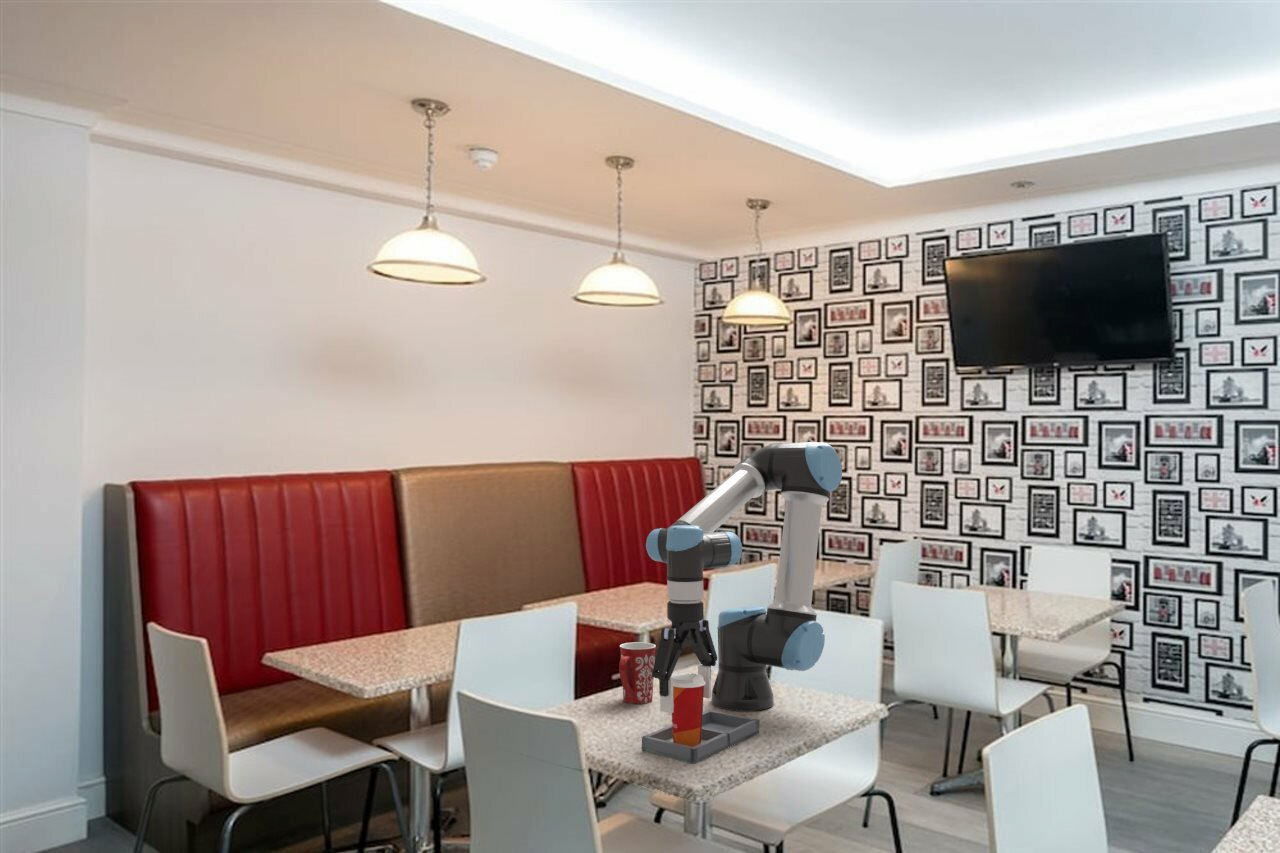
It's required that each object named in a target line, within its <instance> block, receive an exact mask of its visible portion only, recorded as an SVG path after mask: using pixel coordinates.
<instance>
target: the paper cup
mask: <svg viewBox="0 0 1280 853" xmlns="http://www.w3.org/2000/svg"><path fill="white" fill-rule="evenodd" d="M670 679H673V713H671V725H672V729H673V742H674V743H678V744H683V745H687V746H691V747H694V746H696V745H698V744H701V733H702V714H703V712H704V697H703V694H704V685H705V684H706V683H705V681H704V678H703V676H702V675H699V674H698V673H690V672H682V673H675V674H672V675H671V678H670Z"/></svg>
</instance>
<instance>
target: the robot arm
mask: <svg viewBox="0 0 1280 853" xmlns="http://www.w3.org/2000/svg"><path fill="white" fill-rule="evenodd" d="M842 477H843V469H842V462H841V460H840V457H839V455H838V453H837V451H836V449H835V448H834V447H833V446H831V444H828V443H826V442H815V441H809V442H808V441H807V442H805V441H804V442H776V443H772V444H768V445H765V446H763V447H761V448H759V449H757V450H756V451H754V452H752V453H751V454H749V455H747V456H746V457H745V458H743V460H741V461H740V462H738V463H737V464H736V465H735V466H734V467H733V469H732V471H731V474H730V475H729V476H728V477H727V478H726V479H725V480H723V481H722V482H721V483H719V485H717V487H714V489H713V490H712V491H711V492H709V493H708V494H706V496H705V497H704V498H702V499H701V500H700V501H699V502H697V503H696V504H695V505H694V506H692V508H690V509H689V510H687V512H685V514H684V515H682V516H681V517H680V518H678V519H677V520H676V521H675V522H674V523H673V524H671V525H670V526H669V527H667V528H664V527H660V528H655V529H653V530H651V531H650V533H649V534H648V536H647V538H646V543H645V549H646V551H647V554H648V556H649V557H650V559H651V560H653V561H655V562H659V563H660V562H661V563H664V564H666V571H667V572H666V581H667V582H666V583H667V589H666V590H667V591H666V592H667V599H668V600H669V601H668V602H667V604H666V606H667V607H666V608H667V609H666V613H667V614H666V615H667V620H669V621H670V622H671V628H667V627H662V628H661V633H660V634H661V635H660V640H659V646H658V649H657V653H656V655H655V656H656V657H655V661H654V668H653V671H652V677H654V678H655V679H658V680H659V682H658V684H659V686H658V687H659V688H658V689H659V701H660V702H659V703H660V704H659V705H660V706H659V708H660V709H659V711H660V712H662V713H663V712H664V713H668V714H672V713H673V679H670V678H671V676H672V675H673V673H674V671H675V668H676V666H677V662H678V660H679V658H680V655H681V653H682V652H683V651H685V649H686V648H688V647H691V649H692V650H693V652H694V654H695V656H696V658H697V660H698V662H700V664H699V665H697V675H698V674H699V675H702V676H703V678H704V681H705V683H706V684H705V685H704V694H703V699H704V698H705V699H711V704H712V705H713V706H715V707H718V708H720V709H722V710H723V709H724V710H728V711H729V710H731V711H740V712H751V711H753V712H754V711H760V710H761V711H762V710H767V709H769V708H771V707H773V706H774V702H775V701H774V698H775V697H774V693H773V689H772V686H771V683H770V682H771V681H769V677H768V674H767V666H771V667H776V668H781V669H785V670H787V671H798V672H805V671H807V670H810V669H812V668H813V667H814V666H815V665H816V664H817V663H818V661H819V660H820V658H821V656H822V654H823V650H824V649H825V648H824V647H825V637H826V635H825V633H824V628H823V626H822V624H821V623H819V622H818V621H817V615H818V614H817V612H816V611H815V610H814V608H813V607H812V599H813V591H814V583H815V582H814V580H815V572H816V564H817V557H818V556H817V553H818V548H819V547H818V546H819V545H818V544H819V536H820V526H821V518H822V508H823V505H825V504H827V503H828V502H829V501H830V494H831V492H833V491H835V490H837V489H838V487H840V486H839V485H840V484H841V481H842ZM774 490H780V495H781V496H782V498H783V499H784V501H785V508H784V510H785V511H784V517H783V527H782V534H781V536H782V537H781V545H780V552H779V561H778V569H777V570H778V571H777V578H776V587H775V595H774V601H772V603H771V604H769V605H768V606H767V610H766V608H765V607H764V606H743V607H735V608H733V607H732V608H726V609H724V610H722V611H721V612H719V614H718V620H717V621H718V622H717V651H716V648H715V645H714V641H713V638H712V634H711V632H710V625H709V620H708V619H704V617H705V616H704V615H705V614H704V602H703V601H702V600H703V599H704V596H705V595H704V594H705V593H704V570H707V569H716V568H717V569H718V568H727V567H729V566H733V565H735V564H736V563H738V562H739V561H740V560H741V557H742V553H743V544H742V541H741V539H740V537H739V536H738V535H737V534H736V533H735V532H733V531H725V530H723V531H722V530H720V531H716V530H717V529H719V528H720V527H721V526H722V525H723V524H725V522H726V521H728V519H730V518H732V516H733V515H734V514H736V512H738V511H739V510H740V509H741V508H742V507H743V506H744V505H745V504H747V503H748V502H749V501H750V500H751V499H752V498H753V499H754V498H755V499H756V498H759V497H761V495H763V494H764V493H766V492H768V491H774ZM717 652H718V654H717ZM717 662H718V664H717ZM716 665H718V671H717V674H716V677H715V681H714V685H713V687H712V685H711V684H712V683H711V682H712V667H716Z"/></svg>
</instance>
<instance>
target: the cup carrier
mask: <svg viewBox="0 0 1280 853" xmlns="http://www.w3.org/2000/svg"><path fill="white" fill-rule="evenodd" d="M758 734H760V719H757V718H751V717H747V716H741V715H737V714H733V713H732V714H731V713H728V712H721V711H716V710H711V709H708V710H705V711H703V714H702V733H701V744H698V745H696V746H694V747H691V746H687V745H683V744H678V743H674V742H673V729H672V724H671V725H668V726H665V727H663V728H660V729H657V730H655V731H652V732H650V733H647V734H645V735H643V736H641V751H642V752H645V753H649V754H654V755H658V756H662V757H665V756H666V757H665V758H669V757H670V758H669V759H673V758H674V759H675V760H677V759H678V761H681V760H683V761H682V762H685V761H686V763H689V762H690V763H689V764H694V765H695V764H697V763H699V762H701V761H703V760H706V759H707V757H708V758H709V756H710V757H712V756H714V755H716V754H718V753H720V752H722V751H724V750H726V749H729V748H731V747H733V746H735V745H737V744H740V743H741V742H744V741H745V740H747V739H750V738H753V737H754V736H756V735H758ZM734 744H735V745H734ZM732 745H733V746H732ZM730 746H731V747H730ZM728 747H729V748H728ZM721 750H722V751H721ZM719 751H720V752H719ZM717 752H718V753H717ZM715 753H716V754H715ZM713 754H714V755H713ZM711 755H712V756H711ZM700 760H701V761H700ZM698 761H699V762H698ZM696 762H697V763H696Z"/></svg>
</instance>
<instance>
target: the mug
mask: <svg viewBox="0 0 1280 853" xmlns="http://www.w3.org/2000/svg"><path fill="white" fill-rule="evenodd" d="M656 648H657V645H656V644H654V643H651V642H644V641H643V642H641V641H640V642H639V641H636V642H625V643H621V644H620V645H619V649H620V660H619V664H618V672H619V678H620V681H621V685H622V698H623V701H624V702H625V703H628V702H629V703H628V704H635V703H641V704H647V702H648V703H650V702H653V696H654V694H653V692H654V678H655V677H652V671H653V668H654V664H655V660H656V657H655V656H656Z"/></svg>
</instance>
